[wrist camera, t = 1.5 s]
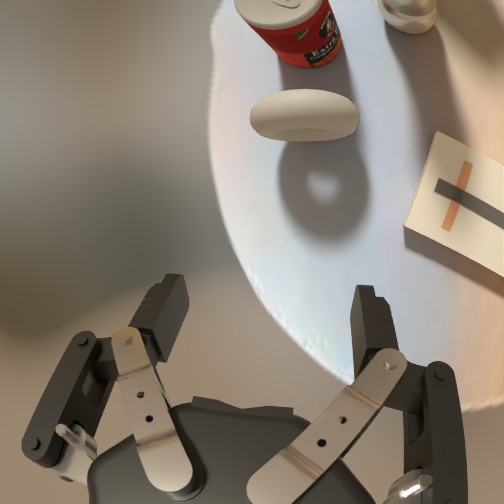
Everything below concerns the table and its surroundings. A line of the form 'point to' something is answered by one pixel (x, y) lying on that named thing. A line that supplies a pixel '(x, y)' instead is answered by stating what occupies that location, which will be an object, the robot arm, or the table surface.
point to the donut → (304, 116)
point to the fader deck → (461, 202)
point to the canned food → (294, 29)
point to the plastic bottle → (409, 14)
